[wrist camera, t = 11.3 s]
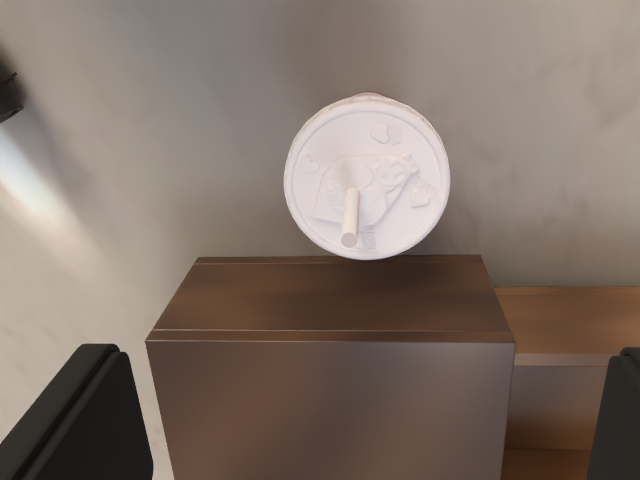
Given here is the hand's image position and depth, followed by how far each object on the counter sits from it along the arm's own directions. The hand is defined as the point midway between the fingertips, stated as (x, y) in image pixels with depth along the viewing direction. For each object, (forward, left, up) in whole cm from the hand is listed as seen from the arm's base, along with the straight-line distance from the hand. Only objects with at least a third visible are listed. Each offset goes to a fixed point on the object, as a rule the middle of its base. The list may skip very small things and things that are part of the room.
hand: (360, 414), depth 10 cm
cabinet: (+15, -2, -22) cm, 27 cm away
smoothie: (0, 0, -22) cm, 22 cm away
